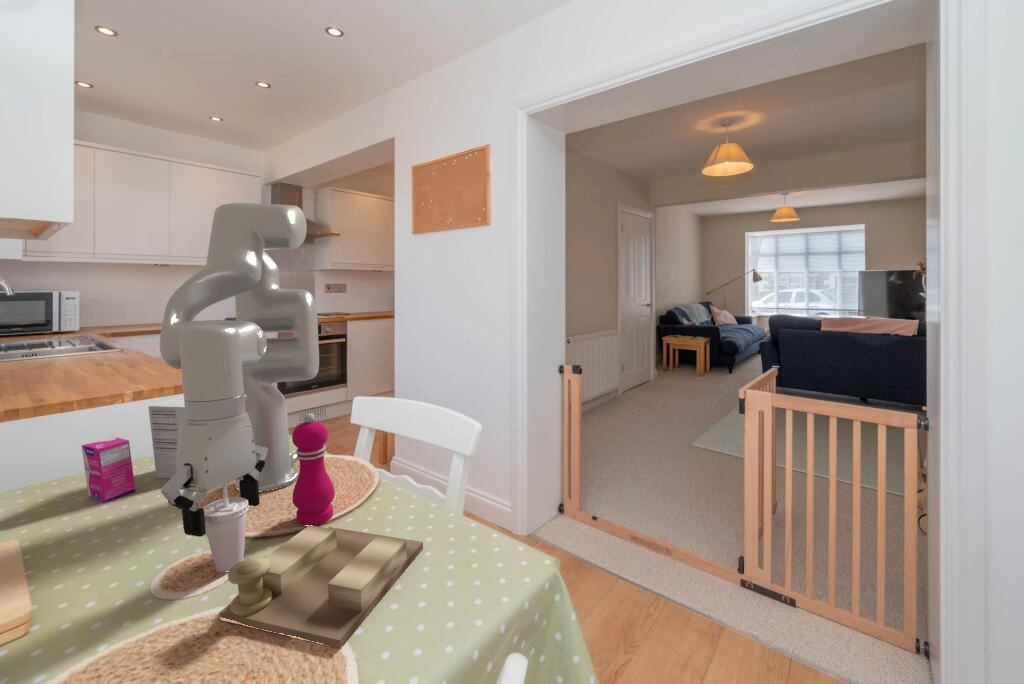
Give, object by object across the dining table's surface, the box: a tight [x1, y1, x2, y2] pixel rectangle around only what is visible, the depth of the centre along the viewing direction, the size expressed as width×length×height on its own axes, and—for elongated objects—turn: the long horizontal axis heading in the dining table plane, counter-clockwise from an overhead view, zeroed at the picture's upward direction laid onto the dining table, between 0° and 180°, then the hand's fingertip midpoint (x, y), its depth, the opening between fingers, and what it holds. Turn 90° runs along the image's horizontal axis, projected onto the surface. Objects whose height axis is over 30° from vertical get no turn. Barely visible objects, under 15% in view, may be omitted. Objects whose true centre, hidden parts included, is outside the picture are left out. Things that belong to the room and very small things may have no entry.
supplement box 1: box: [81, 436, 136, 503], centre depth 96 cm, size 6×6×12 cm
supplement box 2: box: [147, 395, 186, 480], centre depth 108 cm, size 10×9×17 cm
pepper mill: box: [291, 413, 336, 526], centre depth 86 cm, size 7×7×20 cm
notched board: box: [219, 525, 424, 650], centre depth 68 cm, size 22×18×6 cm
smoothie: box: [202, 483, 250, 573], centre depth 72 cm, size 6×6×14 cm
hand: (224, 518), depth 71 cm, fingers open, 9 cm apart
